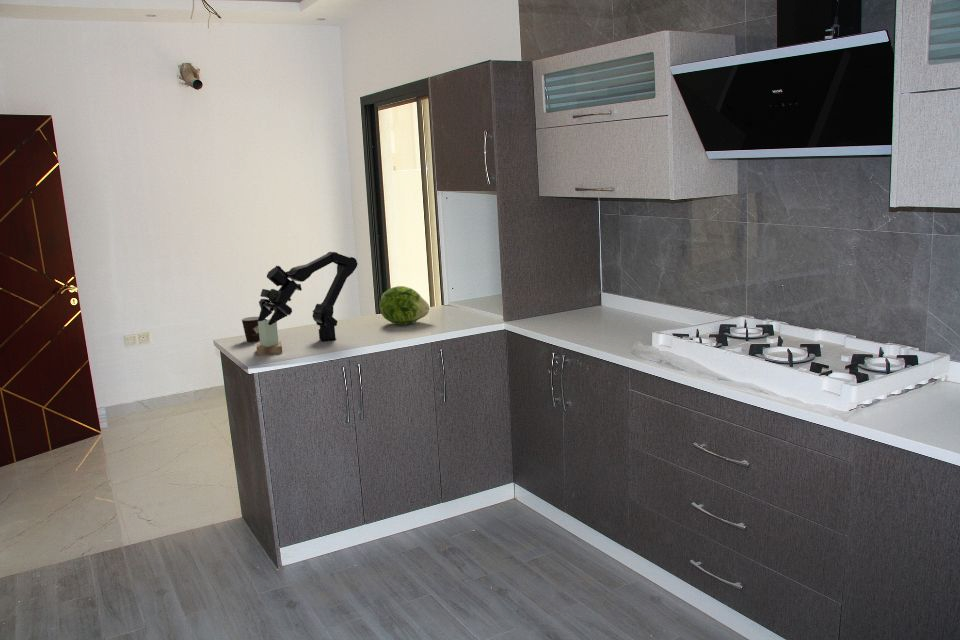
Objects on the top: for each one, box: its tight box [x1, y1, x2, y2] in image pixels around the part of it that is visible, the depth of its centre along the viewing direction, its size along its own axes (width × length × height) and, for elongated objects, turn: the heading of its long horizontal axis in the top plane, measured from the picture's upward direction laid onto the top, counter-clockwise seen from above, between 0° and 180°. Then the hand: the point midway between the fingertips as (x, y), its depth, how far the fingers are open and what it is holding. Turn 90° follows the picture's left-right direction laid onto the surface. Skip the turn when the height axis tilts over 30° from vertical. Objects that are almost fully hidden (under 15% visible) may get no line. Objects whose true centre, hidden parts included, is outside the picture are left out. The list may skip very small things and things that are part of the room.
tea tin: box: [258, 318, 279, 347], centre depth 329 cm, size 6×6×10 cm
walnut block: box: [256, 340, 283, 357], centre depth 330 cm, size 10×10×4 cm
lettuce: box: [379, 285, 430, 326], centre depth 374 cm, size 19×23×18 cm
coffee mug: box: [241, 316, 268, 343], centre depth 354 cm, size 12×9×10 cm
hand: (263, 323), depth 327 cm, fingers open, 9 cm apart
